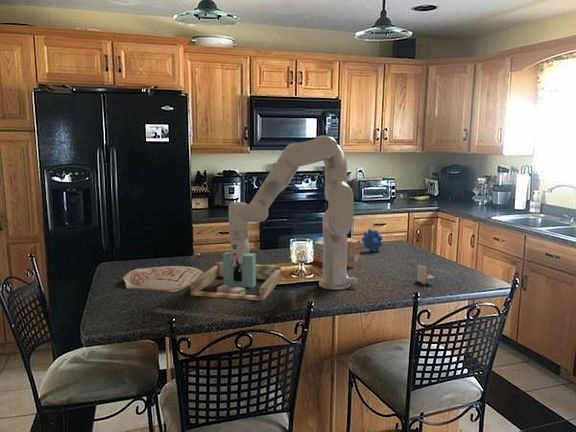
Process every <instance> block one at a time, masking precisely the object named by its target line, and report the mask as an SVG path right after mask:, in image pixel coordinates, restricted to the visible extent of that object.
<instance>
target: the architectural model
mask: <svg viewBox="0 0 576 432" xmlns="http://www.w3.org/2000/svg"><path fill="white" fill-rule="evenodd" d="M416 275H417V277H416V278H417V280H416V281H417V282H419V283H421V284H423V285H426V280H428V279H435V276H433V275H431V274H430V273H429V272H427V266H422V265H420V264H417V274H416Z"/></svg>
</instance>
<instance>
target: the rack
mask: <svg viewBox="0 0 576 432" xmlns="http://www.w3.org/2000/svg"><path fill="white" fill-rule="evenodd" d="M218 277H223V278H224V276H223V261H216V262H214V265H213V266H212V267H211V268H209V269H208V270H207V271H205V272H204V273H202V274H201V275H199V276H198V277H197V279H195V280H194V281H192V282H191V285H190V296H196V297H197V296H199V297H200V296H201V297H212V298H221V299H222V298H225V299H236V300H237V299H238V300H239V299H240V300H251V301H261V302H263V301H265V299H266V298H267V297H268V296H269V295H270V293H271V292H272V291H273V290H274V289H275V287H276V286H277V285H278V283H280V282H281V281H282V266H281V265H272V264H257V263H256V280H262V281H263V280H265V281H264V282H263V283H262V284H261V285H260V286H259V295H254V294H252V295H250V294H243V295H241V294H228V293H217V292H212V291H211V292H210V291H202V290H203V289H204V288H206V287H207V286H209V285H210V284H211V283H212V282H214V281H215V280H216V279H217V278H218ZM280 280H281V281H280Z"/></svg>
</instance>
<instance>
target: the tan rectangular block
mask: <svg viewBox="0 0 576 432" xmlns="http://www.w3.org/2000/svg"><path fill="white" fill-rule="evenodd" d="M360 252H361V239H356V238H351V237H347V268H353V269H354V268H356V267H359V266H360V261H361V260H360V259H361V256H360V255H361V253H360ZM313 262H315V263H320V262H321V263H320V264H323V240H318V241H316V242H313Z"/></svg>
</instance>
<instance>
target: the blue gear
mask: <svg viewBox="0 0 576 432" xmlns="http://www.w3.org/2000/svg"><path fill="white" fill-rule="evenodd" d="M362 235H363V237H362V238H361V243H364V244H363V246H364V248H365V249H368V250H369V252H374V250H375V251H376V252H378V251H380V247H382V246H383V244H384V243H383V241H382V240H383V236H382V235H381V234H379V231H378V230H373V228H368V230H367V231H364V232H363V234H362Z"/></svg>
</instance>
